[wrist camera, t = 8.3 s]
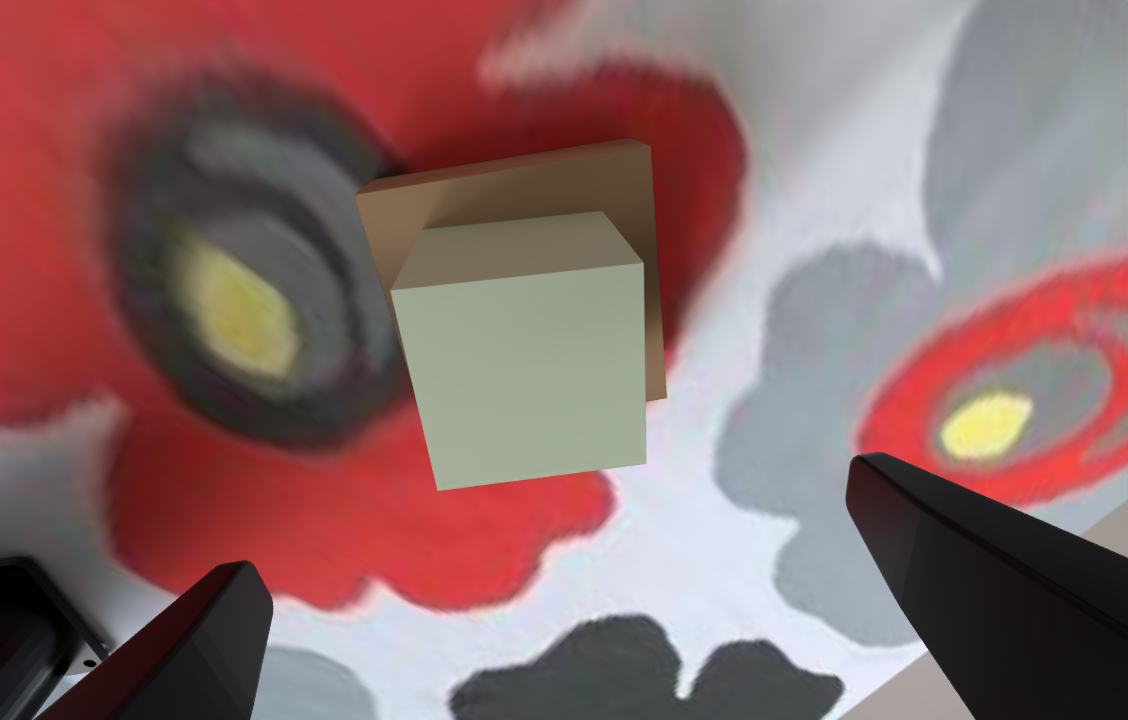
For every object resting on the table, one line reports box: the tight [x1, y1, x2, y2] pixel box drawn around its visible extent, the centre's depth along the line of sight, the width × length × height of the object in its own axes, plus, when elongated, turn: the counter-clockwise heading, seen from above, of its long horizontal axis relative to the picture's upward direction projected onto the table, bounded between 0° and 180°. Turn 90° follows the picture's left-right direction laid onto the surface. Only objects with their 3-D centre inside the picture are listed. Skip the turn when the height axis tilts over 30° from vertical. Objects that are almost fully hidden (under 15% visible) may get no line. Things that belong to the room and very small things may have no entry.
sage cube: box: [390, 211, 646, 491], centre depth 14 cm, size 5×5×5 cm
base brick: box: [354, 137, 667, 402], centre depth 18 cm, size 8×8×3 cm
